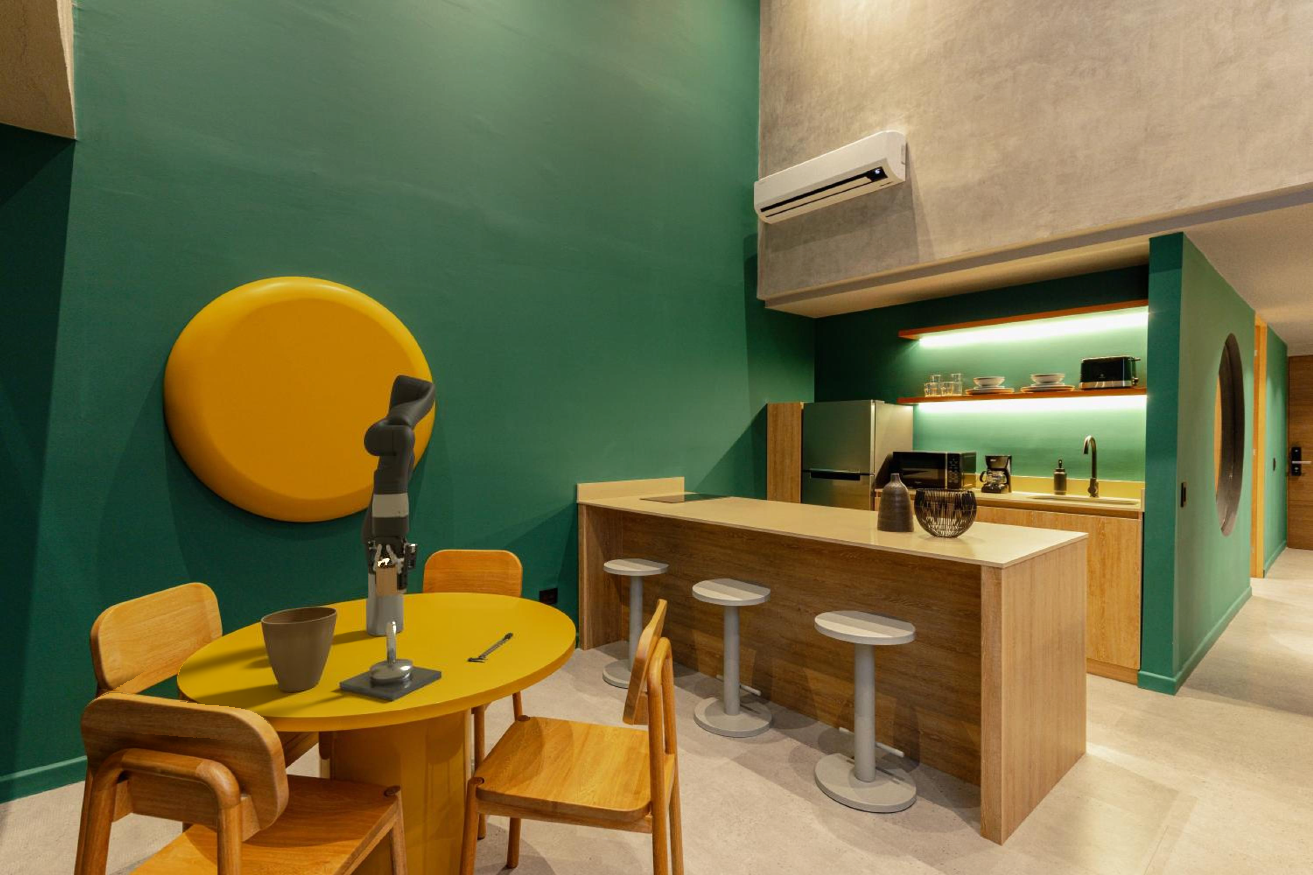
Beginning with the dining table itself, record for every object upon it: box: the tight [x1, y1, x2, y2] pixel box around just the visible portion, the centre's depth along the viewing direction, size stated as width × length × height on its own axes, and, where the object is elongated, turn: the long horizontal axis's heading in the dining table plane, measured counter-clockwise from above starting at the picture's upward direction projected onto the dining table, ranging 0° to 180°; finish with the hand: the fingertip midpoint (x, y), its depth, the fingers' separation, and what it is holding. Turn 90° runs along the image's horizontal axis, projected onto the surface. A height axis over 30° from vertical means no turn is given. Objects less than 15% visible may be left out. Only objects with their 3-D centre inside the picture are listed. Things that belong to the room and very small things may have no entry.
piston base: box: [338, 621, 443, 702], centre depth 140 cm, size 16×14×14 cm
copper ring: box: [376, 564, 407, 596], centre depth 140 cm, size 6×6×6 cm
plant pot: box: [260, 606, 339, 693], centre depth 139 cm, size 15×15×16 cm
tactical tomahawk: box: [467, 632, 514, 664], centre depth 163 cm, size 21×7×1 cm, turn 166°
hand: (391, 587), depth 140 cm, fingers closed on copper ring, 6 cm apart
